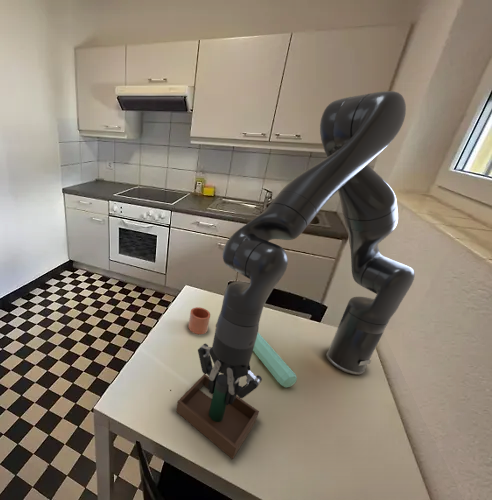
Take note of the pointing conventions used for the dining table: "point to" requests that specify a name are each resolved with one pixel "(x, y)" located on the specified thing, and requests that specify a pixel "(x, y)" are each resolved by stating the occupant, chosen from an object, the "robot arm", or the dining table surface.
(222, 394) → the marker
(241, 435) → the tray
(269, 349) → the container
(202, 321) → the pen pot
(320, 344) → the dining table surface
